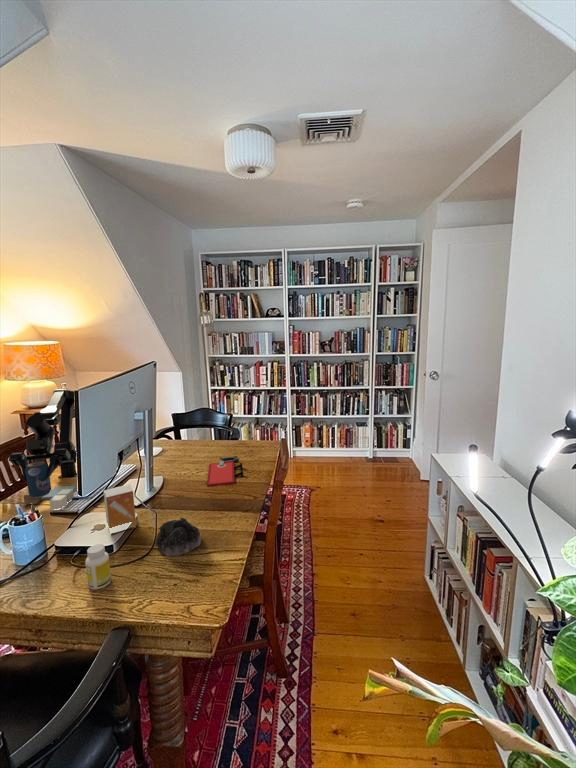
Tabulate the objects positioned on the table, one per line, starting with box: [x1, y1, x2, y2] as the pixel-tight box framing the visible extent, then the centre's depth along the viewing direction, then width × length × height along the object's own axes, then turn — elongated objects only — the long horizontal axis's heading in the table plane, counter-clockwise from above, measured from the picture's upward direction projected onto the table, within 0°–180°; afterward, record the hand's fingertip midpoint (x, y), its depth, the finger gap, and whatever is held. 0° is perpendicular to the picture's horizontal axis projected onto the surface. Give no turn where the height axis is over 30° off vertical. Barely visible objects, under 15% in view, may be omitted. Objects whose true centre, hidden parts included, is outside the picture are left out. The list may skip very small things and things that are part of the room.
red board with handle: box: [206, 455, 244, 487], centre depth 167 cm, size 30×3×15 cm
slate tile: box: [42, 485, 78, 501], centre depth 148 cm, size 9×9×1 cm
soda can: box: [25, 460, 52, 498], centre depth 135 cm, size 7×7×12 cm
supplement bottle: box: [84, 543, 112, 590], centre depth 95 cm, size 5×5×10 cm
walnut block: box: [23, 491, 43, 505], centre depth 141 cm, size 4×4×4 cm
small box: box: [103, 484, 137, 529], centre depth 121 cm, size 8×6×13 cm
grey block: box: [57, 489, 75, 502], centre depth 141 cm, size 4×4×4 cm
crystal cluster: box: [155, 517, 202, 557], centre depth 111 cm, size 13×14×10 cm
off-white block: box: [48, 495, 67, 511], centre depth 136 cm, size 4×4×4 cm
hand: (36, 478), depth 134 cm, fingers closed on soda can, 7 cm apart
